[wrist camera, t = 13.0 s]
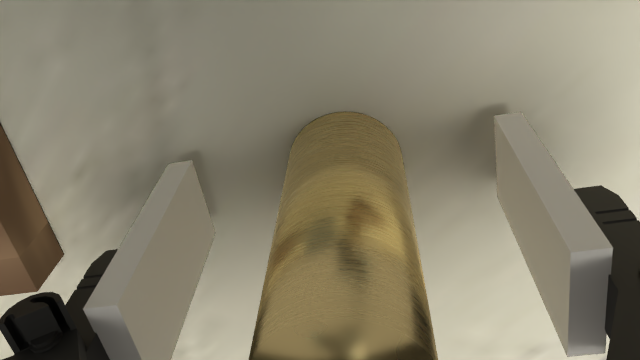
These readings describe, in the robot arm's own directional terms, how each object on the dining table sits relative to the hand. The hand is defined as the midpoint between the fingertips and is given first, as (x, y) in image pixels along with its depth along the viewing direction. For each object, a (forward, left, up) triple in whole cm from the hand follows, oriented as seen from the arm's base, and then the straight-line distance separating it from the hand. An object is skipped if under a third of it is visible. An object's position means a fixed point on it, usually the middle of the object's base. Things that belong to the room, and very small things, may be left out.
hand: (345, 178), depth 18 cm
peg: (0, 0, -1) cm, 1 cm away
